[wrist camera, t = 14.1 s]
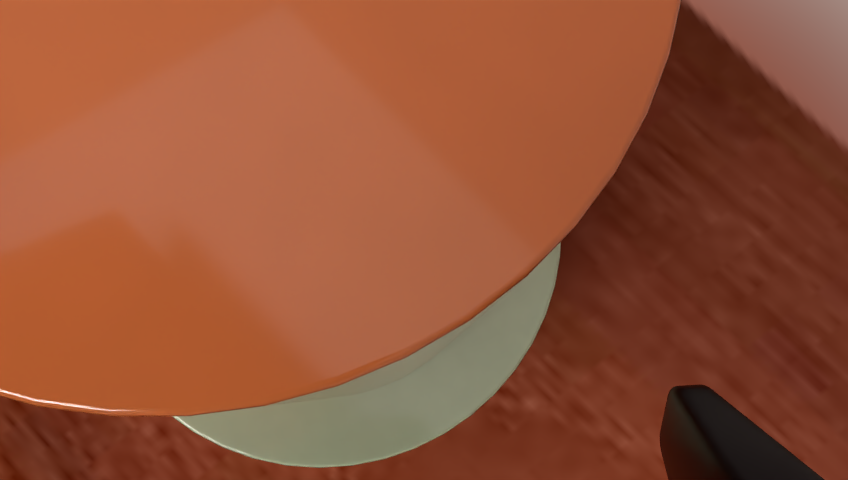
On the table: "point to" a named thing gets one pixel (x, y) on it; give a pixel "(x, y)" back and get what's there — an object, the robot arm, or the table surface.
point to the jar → (395, 394)
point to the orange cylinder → (291, 184)
